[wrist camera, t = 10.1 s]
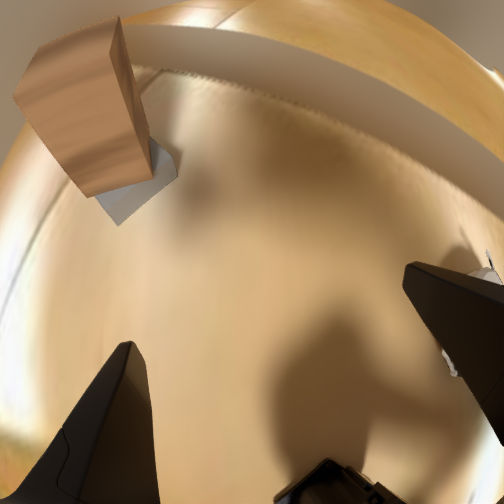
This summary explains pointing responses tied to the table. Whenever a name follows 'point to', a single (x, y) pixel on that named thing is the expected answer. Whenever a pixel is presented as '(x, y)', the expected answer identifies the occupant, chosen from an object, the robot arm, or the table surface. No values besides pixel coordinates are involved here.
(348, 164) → the table surface
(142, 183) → the base slab
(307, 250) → the table surface
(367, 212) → the table surface
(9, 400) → the table surface
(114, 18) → the walnut block
